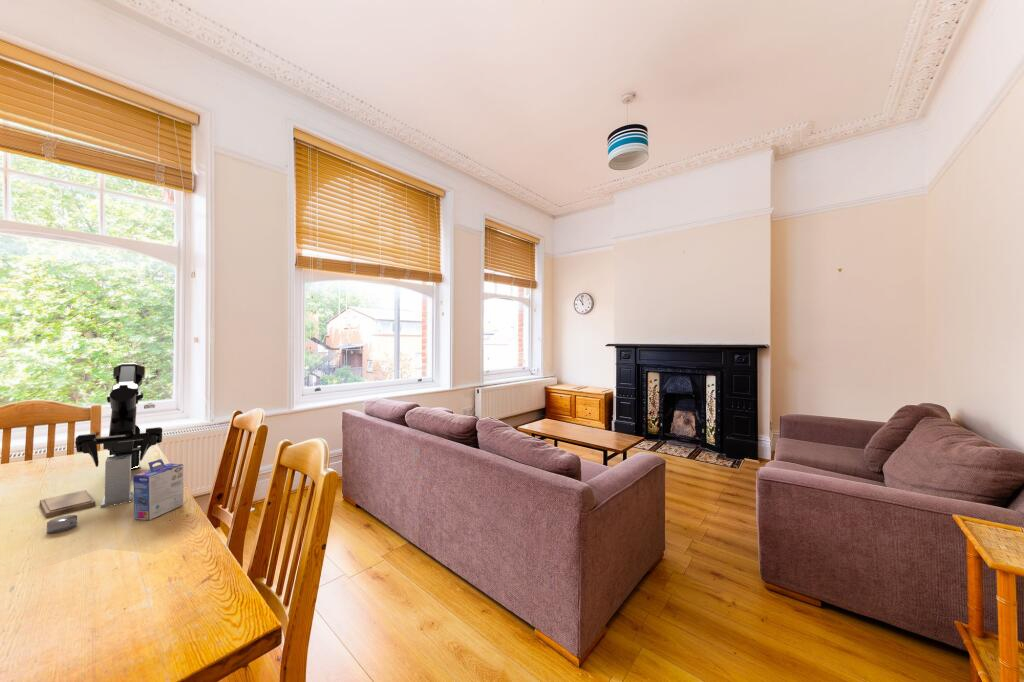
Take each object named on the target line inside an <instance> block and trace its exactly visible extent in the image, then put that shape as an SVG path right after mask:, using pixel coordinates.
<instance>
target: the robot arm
mask: <svg viewBox="0 0 1024 682" xmlns="http://www.w3.org/2000/svg"><path fill="white" fill-rule="evenodd" d="M112 373H113V375H112V378H113V380H115V382H116V384H115V385H113V386H112V388H111V391H108V393H107V397H106V398H107V399H106V400H107V403H108V404H109V403H110V404H109V405H110V409H111V413H110V423H109V432H108V436H99V437H97V433H86V434H78V435H77V436H76V437H75V442H74V443H75V448H76V449H75V450H76V453H83V454H89V456H90V457H91V459H92V461H93V463H94V466H95V467H96V468H97V467H99V463H100V462H99V453H98V445H102V446H103V447H102V449H103V450H107V451H109V456H120V455H127V454H131V468H133V467H135V466H138V465H140V462H141V461H143V459H144V457H145V455H146V454H147V452H148V450H149V449H150V447H153V446H156V445H157V444H160V443H162V442H163V428H162V427H161V426H160V427H159V426H158V427H157V426H155V427H147V428H145V432H142V433H141V428H140V427H139V426H138V425H137V424H136V421H137V419H136V418H137V408H138V407H137V405H138V404H139V401H140V402H141V401H142V400H143V398H144V393H143V392H142V390H140V389H139V388H140V387H141V385H142V384H143V379H145V375H146V368H145V366H143V365H139V363H136V362H134V363H133V362H130V363H129V362H128V363H127V362H126V363H119V364H118V365H117V366H114V367H113V372H112Z"/></svg>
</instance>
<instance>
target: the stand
mask: <svg viewBox="0 0 1024 682" xmlns="http://www.w3.org/2000/svg"><path fill="white" fill-rule="evenodd" d="M96 503H97V502H96V500H95V499H94V498H93V496H92V495H91V494H90V493H89V492H88V490H87V489H86V490H80V491H75V492H71V493H66V494H61V495H56V496H53V497H51V496H50V497H47V498H44V499H40V500H39V506H40V508H41V510H42V512H43V513H44V516H45V518H50V517H55V516H59V515H63V514H67V513H72V512H76V511H79V510H83V509H86V508H87V507H88V508H91V507H95V506H96Z"/></svg>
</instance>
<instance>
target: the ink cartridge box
mask: <svg viewBox="0 0 1024 682" xmlns="http://www.w3.org/2000/svg"><path fill="white" fill-rule="evenodd" d="M157 463H158V464H157ZM159 463H160V464H159ZM147 464H148V466H149V470H146V471H143V472H141V473H138V474H137V473H136V474H133V476H132V477H133V480H132V481H133V483H132V484H133V492H134V498H133V518H134V520H143V521H151V520H153V519H155V518H158V517H159V516H162V515H163V514H167V513H168V512H171V511H172V510H175V509H177V508H179V507H181V506H183V505H184V464H183V463H172V462H171V463H164V460H163V459H162V458H159V459H157V460H153V461H149V462H148V463H147ZM155 464H157V465H155ZM153 465H155V466H153Z"/></svg>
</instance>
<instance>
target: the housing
mask: <svg viewBox="0 0 1024 682" xmlns="http://www.w3.org/2000/svg"><path fill="white" fill-rule="evenodd" d="M104 465H105V468H104V469H105V472H104V475H105V476H104V497H102V500H101V503H100V508H101V507H102V508H107V507H106V506H108V507H111V506H110V505H113V506H115V505H114V504H118V505H121V504H120V503H123V504H125V503H124V502H128V503H130V502H129V501H133V502H134V498H133V497H134V491H132V492H131V490H132V485H131V484H132V470H131V454H127V455H120V456H113V455H111V456H107V458H106V459H105V464H104Z"/></svg>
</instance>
